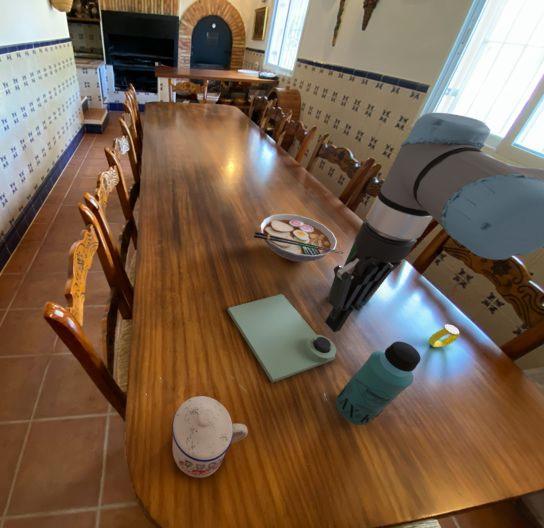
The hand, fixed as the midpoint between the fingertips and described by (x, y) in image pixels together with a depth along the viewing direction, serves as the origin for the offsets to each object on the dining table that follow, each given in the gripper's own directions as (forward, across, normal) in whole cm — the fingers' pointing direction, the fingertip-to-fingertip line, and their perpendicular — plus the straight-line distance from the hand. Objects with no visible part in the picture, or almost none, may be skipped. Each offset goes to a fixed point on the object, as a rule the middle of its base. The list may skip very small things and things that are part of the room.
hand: (332, 326), depth 60 cm
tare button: (+7, 0, 0) cm, 7 cm away
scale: (+9, +6, -7) cm, 13 cm away
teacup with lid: (+9, +31, +9) cm, 33 cm away
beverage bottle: (+9, +3, +13) cm, 16 cm away
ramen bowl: (+10, -17, -33) cm, 39 cm away
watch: (+10, -29, +8) cm, 32 cm away
